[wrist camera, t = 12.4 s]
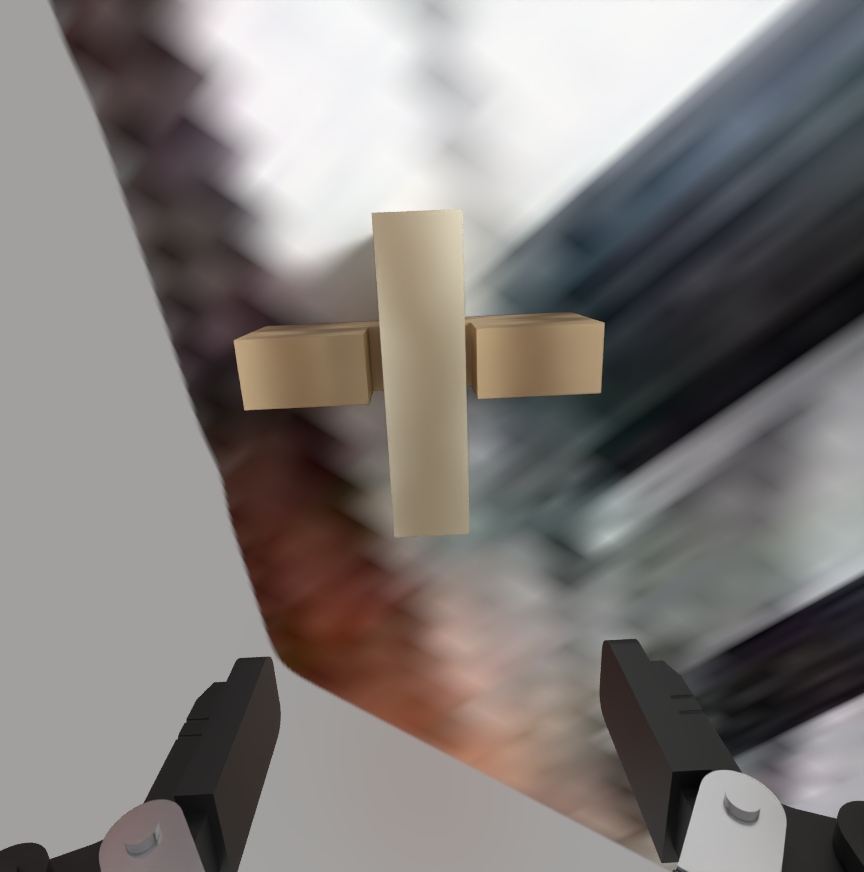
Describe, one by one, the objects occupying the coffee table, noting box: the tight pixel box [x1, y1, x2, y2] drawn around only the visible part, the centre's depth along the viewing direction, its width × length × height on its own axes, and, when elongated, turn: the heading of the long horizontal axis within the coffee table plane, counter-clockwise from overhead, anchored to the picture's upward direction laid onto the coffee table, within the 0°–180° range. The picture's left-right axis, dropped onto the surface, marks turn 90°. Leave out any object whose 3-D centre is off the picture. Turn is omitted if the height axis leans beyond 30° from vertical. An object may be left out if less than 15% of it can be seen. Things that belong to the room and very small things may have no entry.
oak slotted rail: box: [234, 312, 605, 410], centre depth 30 cm, size 18×4×6 cm, turn 92°
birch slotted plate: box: [372, 209, 470, 537], centre depth 28 cm, size 4×14×10 cm, turn 3°
